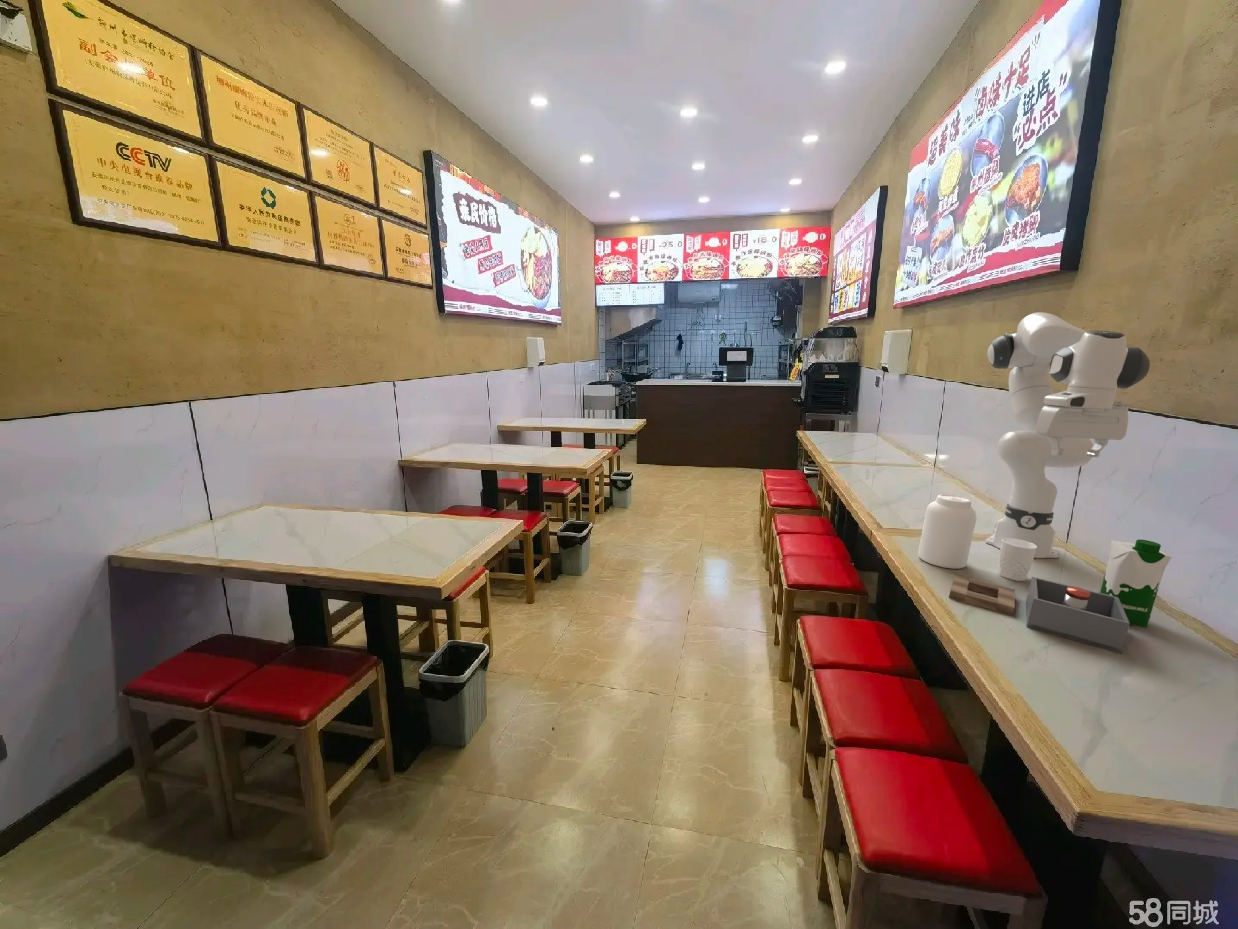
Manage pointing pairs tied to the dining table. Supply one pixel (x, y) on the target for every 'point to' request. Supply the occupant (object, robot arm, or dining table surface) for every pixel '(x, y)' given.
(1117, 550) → the milk carton
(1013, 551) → the white cup
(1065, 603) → the red and grey cylinder
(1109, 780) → the dining table surface
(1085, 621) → the bin
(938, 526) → the can
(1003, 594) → the socket block
